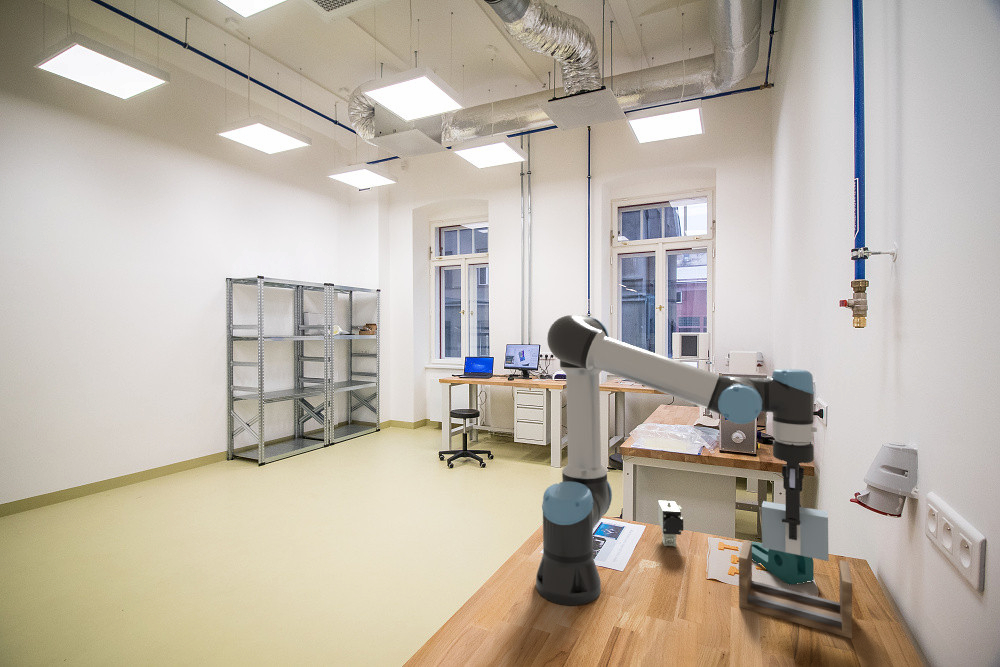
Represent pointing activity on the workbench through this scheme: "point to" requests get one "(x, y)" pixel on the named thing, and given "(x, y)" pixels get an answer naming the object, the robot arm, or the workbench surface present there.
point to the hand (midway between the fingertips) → (793, 548)
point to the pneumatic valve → (669, 521)
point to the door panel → (810, 530)
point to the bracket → (784, 564)
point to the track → (797, 599)
